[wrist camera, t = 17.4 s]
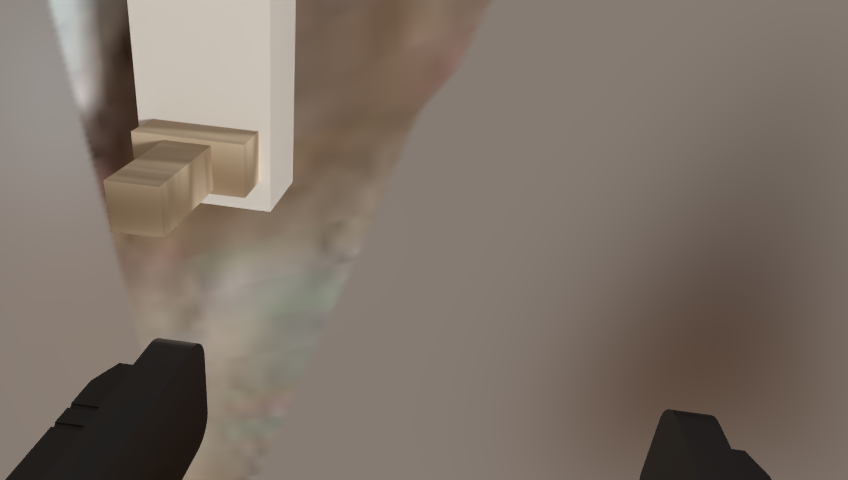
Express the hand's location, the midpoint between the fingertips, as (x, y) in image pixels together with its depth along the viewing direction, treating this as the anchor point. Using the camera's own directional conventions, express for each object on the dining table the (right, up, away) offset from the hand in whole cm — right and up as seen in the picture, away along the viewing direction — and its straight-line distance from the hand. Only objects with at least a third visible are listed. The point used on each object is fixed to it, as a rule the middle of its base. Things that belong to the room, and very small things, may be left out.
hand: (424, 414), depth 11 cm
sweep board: (-11, +16, +27) cm, 33 cm away
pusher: (-12, +8, +25) cm, 29 cm away
